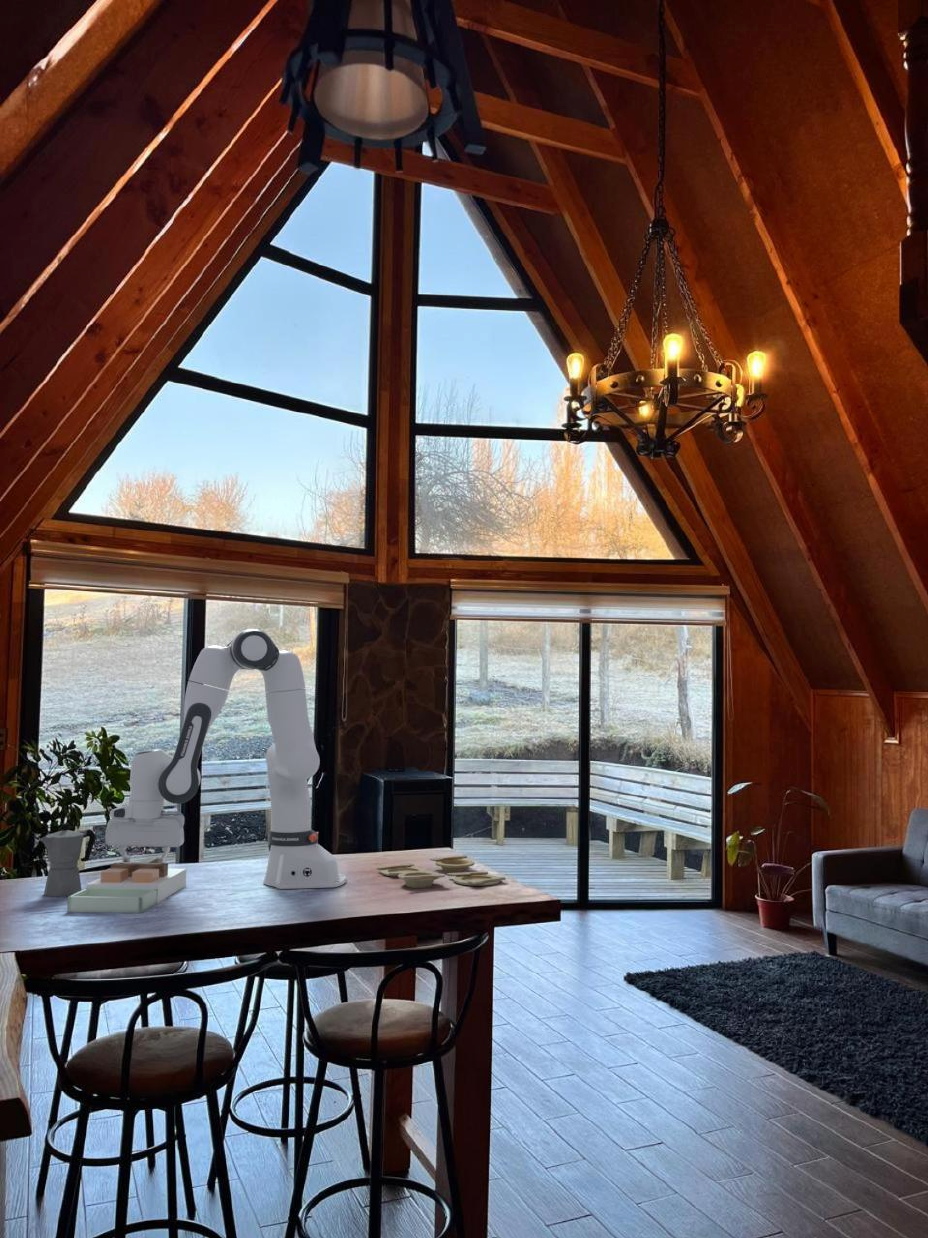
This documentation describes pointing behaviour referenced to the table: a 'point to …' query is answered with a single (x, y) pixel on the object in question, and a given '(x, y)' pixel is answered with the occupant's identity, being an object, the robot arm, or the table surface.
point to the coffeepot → (65, 860)
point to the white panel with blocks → (149, 884)
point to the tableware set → (450, 865)
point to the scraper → (144, 866)
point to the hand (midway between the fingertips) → (143, 863)
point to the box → (112, 900)
